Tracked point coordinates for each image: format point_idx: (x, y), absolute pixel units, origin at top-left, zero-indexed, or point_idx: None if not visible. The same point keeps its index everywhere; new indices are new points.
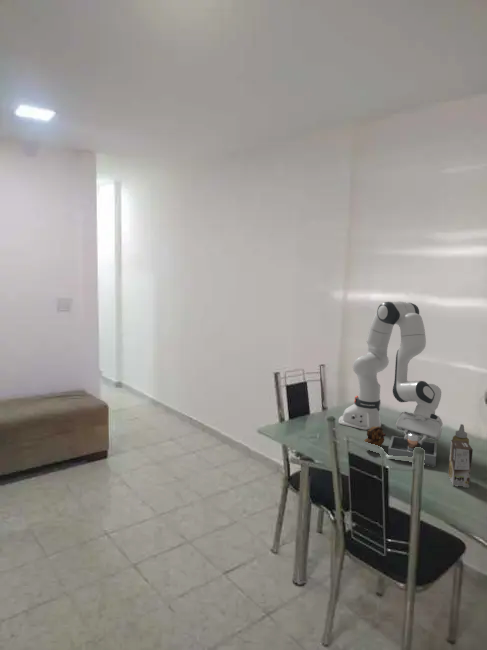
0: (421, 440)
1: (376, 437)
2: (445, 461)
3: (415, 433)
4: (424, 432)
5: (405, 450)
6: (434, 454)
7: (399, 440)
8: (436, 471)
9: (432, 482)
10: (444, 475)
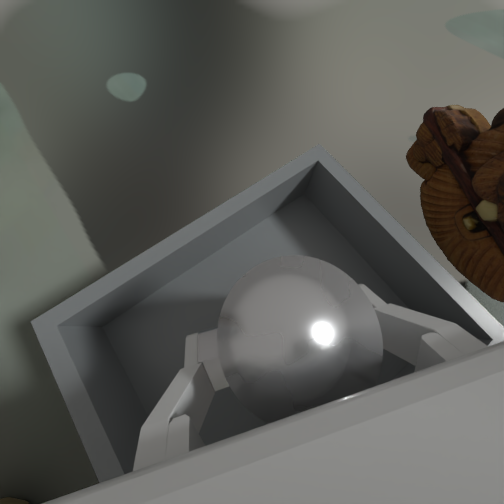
0: (189, 360)
1: (484, 168)
2: (85, 481)
3: (312, 389)
4: (156, 491)
5: (239, 206)
6: (57, 343)
7: None
8: (62, 284)
9: (27, 175)
10: (8, 282)
